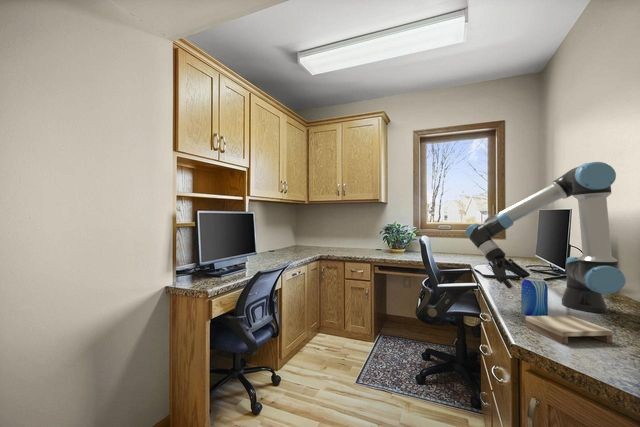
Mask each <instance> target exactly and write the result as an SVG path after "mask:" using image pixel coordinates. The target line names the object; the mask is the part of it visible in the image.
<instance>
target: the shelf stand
mask: <svg viewBox="0 0 640 427" xmlns="http://www.w3.org/2000/svg"><path fill="white" fill-rule="evenodd" d="M525 328H527V329H529V330H531V331H534V332H536V333H537V334H540V335H542V336H544V337H546V338H548V339H551V340H552V341H554V342H556V343H559V344H561V345H569V337H591V338H594V339H596V340H599V341H601V342H603V343H606V344H613V330H611V329H608V328H606V327H603V326H600V325H597V324H595V323H592V322H589V321H587V320H584V319H581V318H578V317H576V316H573V315H564V314H563V315H548V316H526V318H525Z"/></svg>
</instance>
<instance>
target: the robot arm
mask: <svg viewBox="0 0 640 427" xmlns="http://www.w3.org/2000/svg"><path fill="white" fill-rule="evenodd" d="M616 178H617V173H616V171H615V169H614V168H613V166H611V165H609V164H607V163H606V162H603V161H602V162H601V161H592V162H591V161H590V162H587V163H583V164H581V165H579V166H577V167H573V168H571V169H570V170H569V171H567V172H565V173H564V174H563V175H561V176H560V177H558V178H556V179H555V180H552V181H551V182H550V183H549V185H548V186H546V187H545V188H542V189H541V190H539V191H536V192H535V193H533V194H531V195H529V196H527V197H526V198H523V199H522V200H520V201H518V202H515V204H513V205H511V206H508V207H507V208H505V209H503V210H501V211H499V212H498V213H495V214H494V215H492V216H489V217H487V218H486V219H485V220H484V222H483V223H481V224H478V223H473V224H470V225H469V226H468V227H467V228H466V229H465V235H466V236H467V237H468V239H469V240H470V241H471V242H472V243H473V245H474V246H475V247H476V248H477V250H479V252H480V254H482V255H483V257H485V259H486V260H487V262H488V266H490V268H491V271H492V272H493V275H494V277H495V279H496V281H497V282H499V284H502V283H503V284H504V285H505V287H506V288H507V289H508V290H509V291H510V292H511V294H512V295H513V296H514V297H517V296H519V295H520V294H521V291H520V290H519V289H518V288H517V286H516V285H515V284H514V283H513V282H512V281H511V279H510V278H508V277H507V276H508V275H507V272H506V271H508V272H511V273H513V274H514V275H516V276H518V277H519V278H521V279H522V281H523V280H524V278H526V277H530V276H531V273H530V272H528V271H527V270H526V269H524V268H523V267H521V265H519V264H518V263H517V262H515V261H514V260H513V259H512V258H509V259H507V258H506V253H505V252H504V251H503V250H502V248H500V246H499V245H498V244H497V243H496V242H495V241H494V240H493V238H494V237H496V236H497V235H498V234H501V233H503V232H505V231H506V230H508V229H510V227H512V226H513V225H514V222H516V221H520V220H522V219H523V218H524V217H525V218H526V217H527V216H528V215H530V214H533V213H535V212H537V211H539V210H541V209H543V208H545V207H547V206H549V205H551V204H553V203H555V202H556V201H559V200H561V199H564V200H565V199H568V198H570V197H573V198H575V199H577V205H578V206H577V207H578V215H579V216H578V217H579V227H580V228H579V229H580V238H581V251H582V254H581V256H579V257H577V256H576V257H575V256H573V257H572V256H571V257H570V256H569V257H567V258H566V262H565V265H566V266H565V267H566V271H565V272H566V273H565V274H566V289H565V291H564V292H563V293H564V294H563V297H562V298H561V305H563V306H565V307H567V308H570V309H573V310H576V311H577V310H578V311H583V312H591V313H597V314H598V313H601V314H602V313H608V305H607V304H606V302H605V298H604V296H603V295H609V294H610V295H611V294H616V293H617V292H619V291H621V290H622V289H624V287H625V285H626V283H627V282H626V281H627V280H626V276H625V274H624V273H623V272H622V271H621V270H620V269H619V261H618V259H616V258H615V257H614V256H613V255H612V254H613V253H612V246H611V245H612V243H611V234H610V222H609V211H608V201H607V198H608V197H609V196H611V194H612V185H613V184H614V183H615V181H616Z"/></svg>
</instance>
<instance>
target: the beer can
mask: <svg viewBox="0 0 640 427" xmlns="http://www.w3.org/2000/svg"><path fill="white" fill-rule="evenodd" d="M520 286H521V288H520V290H521V291H520V292H521V293H520V294H521V298H520V300H521V305H520V306H521V309H520V310H521V315H522V316H523V318H525V319H526V316H549V315H548V314H549V312H548V309H549V304H548V302H549V301H548V300H549V299H548V298H549V297H548V294H549V292H548V291H549V290H548V288H549V287H548V285H547V283H546V280H545V279H543V278H538V277H530V276H529V277H526V278H524V280H523V279H522V282H521V285H520Z"/></svg>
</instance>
